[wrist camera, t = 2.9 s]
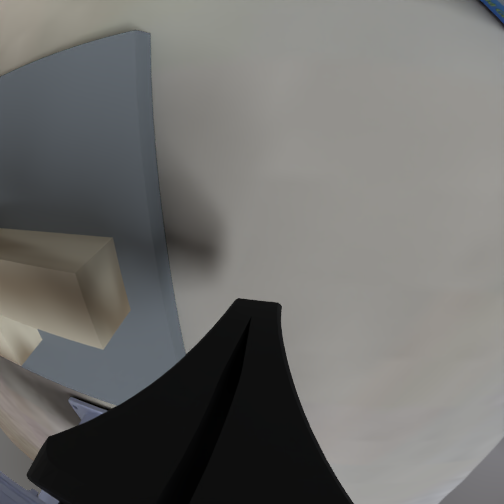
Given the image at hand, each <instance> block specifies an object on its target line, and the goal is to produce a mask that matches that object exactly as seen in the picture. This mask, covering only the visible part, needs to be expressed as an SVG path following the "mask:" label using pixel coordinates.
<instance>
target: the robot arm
mask: <svg viewBox="0 0 504 504" xmlns="http://www.w3.org/2000/svg"><path fill="white" fill-rule="evenodd" d="M281 309H282V306H281V305H280V304H279V303H276V302H266V301H257V300H248V299H240V298H238V299H236V300H235V301H234V302H233V304H232V305H231V306H230V307H229V309H228V310H227V311H226V312H225V314H224V315H223V316H222V317H221V318H220V320H219V321H218V322H217V323H216V324H215V325H214V327H213V328H212V329H211V330H210V331H209V332H208V333H207V334H206V335H205V336H204V337H203V338H202V339H201V340H200V342H199V343H198V344H197V345H196V346H195V347H194V348H192V349H191V350H190V351H189V352H188V353H187V354H186V355H185V356H184V357H183V358H182V359H181V360H180V361H179V362H178V363H176V364H175V365H174V366H173V367H172V368H171V369H169V370H168V371H167V372H166V373H164V374H163V375H162V376H161V377H159V378H158V379H157V380H155V381H154V382H153V383H152V384H150V385H149V386H147V387H146V388H144V389H143V390H141V391H140V392H139V393H137V394H136V395H134V396H133V397H131V398H129V399H128V400H126V401H125V402H123V403H121V404H120V405H118V406H116V407H114V408H112V409H110V410H109V411H107V410H104V409H102V408H99V407H96V406H94V405H91V404H88V403H86V402H83V401H81V400H78V399H76V398H73V397H70V398H69V400H68V401H69V403H70V404H71V406H72V407H73V409H74V410H75V412H76V413H77V414H78V416H79V417H80V419H81V422H80V423H79V425H78V426H75V427H73V428H70V429H68V430H65V431H63V432H60V433H58V434H55V435H52V436H49V437H48V438H47V440H46V441H45V443H44V444H43V446H42V447H41V449H40V451H39V453H38V454H37V456H36V458H35V460H34V462H33V463H32V466H31V467H30V469H29V471H28V473H27V477H28V479H29V480H30V481H31V482H33V483H34V484H35V485H36V486H38V487H39V488H41V489H42V490H41V492H40V494H39V496H38V492H37V491H36V490H34V489H31V490H26V489H24V488H23V487H21V486H20V485H18V484H17V483H16V482H14V481H13V480H12V479H10V478H9V477H7V476H6V475H5V474H4V473H2V472H1V471H0V504H354V503H353V502H352V500H351V499H350V497H349V496H348V494H347V493H346V491H345V490H344V488H343V487H342V485H341V484H340V482H339V480H338V479H337V477H336V475H335V474H334V472H333V470H332V468H331V467H330V465H329V463H328V461H327V460H326V458H325V456H324V454H323V452H322V450H321V448H320V446H319V444H318V442H317V440H316V438H315V436H314V434H313V432H312V429H311V427H310V425H309V423H308V420H307V418H306V415H305V413H304V411H303V408H302V405H301V403H300V400H299V397H298V395H297V392H296V389H295V386H294V382H293V379H292V376H291V372H290V369H289V365H288V361H287V357H286V352H285V347H284V343H283V337H282V329H281Z"/></svg>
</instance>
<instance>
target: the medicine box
mask: <svg viewBox="0 0 504 504" xmlns="http://www.w3.org/2000/svg"><path fill="white" fill-rule="evenodd" d="M480 1H481V2H483V3H484V4H485V5H486V6H487V7H488V8H489V9H490V10H491V11H492V12H493V13H494V14H495V15H496V16H497V17H498V18H499V19H500V20H501V22H502V23H503V24H504V0H480Z"/></svg>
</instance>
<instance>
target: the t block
mask: <svg viewBox="0 0 504 504" xmlns="http://www.w3.org/2000/svg"><path fill="white" fill-rule="evenodd" d="M130 310H131V309H130V305H129V302H128V298H127V294H126V291H125V287H124V283H123V279H122V275H121V271H120V267H119V263H118V258H117V254H116V250H115V245H114V240H113V238H112V237H100V236H88V235H77V234H65V233H53V232H41V231H29V230H17V229H5V228H0V356H2V357H4V358H6V359H8V360H10V361H12V362H14V363H16V364H18V365H20V366H22V365H23V363H24V362H25V361H26V360H27V358H28V357H29V356H30V355H31V353H32V352H33V351H34V350H35V348H36V347H37V346H38V345H39V343H40V342H41V341H42V338H41V336H40V334H39V332H38V330H37V329H39V330H42V331H45V332H48V333H51V334H54V335H57V336H60V337H63V338H66V339H69V340H72V341H75V342H79V343H82V344H85V345H89V346H92V347H95V348H99V349H102V350H104V348H105V347H106V345H107V344H108V342H109V341H110V339H111V338H112V336H113V335H114V333H115V332H116V330H117V329H118V328H119V326H120V325H121V323H122V322H123V320H124V319H125V317H126V316H127V315H128V313H129V312H130Z"/></svg>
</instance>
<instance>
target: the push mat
mask: <svg viewBox="0 0 504 504" xmlns="http://www.w3.org/2000/svg"><path fill="white" fill-rule="evenodd" d="M0 228H5V229H17V230H29V231H41V232H53V233H65V234H77V235H88V236H100V237H112V238H113V240H114V245H115V250H116V254H117V258H118V263H119V267H120V271H121V275H122V279H123V283H124V287H125V291H126V294H127V298H128V302H129V305H130V309H131V310H130V312H129V313H128V315H127V316H126V317H125V319H124V320H123V322H122V323H121V325H120V326H119V328H118V329H117V330H116V332H115V333H114V335H113V336H112V338H111V339H110V341H109V342H108V344H107V345H106V347H105V348H104V350H102V349H99V348H95V347H92V346H89V345H85V344H82V343H79V342H75V341H72V340H69V339H66V338H63V337H60V336H57V335H54V334H51V333H48V332H45V331H42V330H39V329H37V330H38V332H39V334H40V336H41V338H42V341H41V342H40V343H39V345H38V346H37V347H36V348H35V350H34V351H33V352H32V353H31V355H30V356H29V357H28V358H27V360H26V361H25V362H24V363H23V365H22V366H21V367H23V368H25V369H27V370H29V371H31V372H33V373H36V374H38V375H40V376H42V377H44V378H47V379H49V380H51V381H53V382H56V383H58V384H61V385H63V386H65V387H68V388H70V389H73V390H75V391H78V392H80V393H83V394H86V395H88V396H91V397H94V398H97V399H99V400H102V401H105V402H108V403H111V404H114V405H117V406H118V405H120V404H121V403H123V402H125V401H126V400H128V399H129V398H131V397H133V396H134V395H136V394H137V393H139V392H140V391H141V390H143V389H144V388H146V387H147V386H149V385H150V384H152V383H153V382H154V381H155V380H157V379H158V378H159V377H161V376H162V375H163V374H164V373H166V372H167V371H168V370H169V369H171V368H172V367H173V366H174V365H175V364H176V363H178V362H179V361H180V360H181V359H182V358H183V357H184V356H185V355H186V354H185V349H184V344H183V339H182V334H181V329H180V324H179V319H178V313H177V308H176V302H175V296H174V291H173V285H172V278H171V272H170V266H169V259H168V253H167V246H166V239H165V231H164V224H163V216H162V208H161V199H160V190H159V181H158V171H157V160H156V149H155V136H154V122H153V105H152V84H151V49H150V33H147V32H142V31H137V30H134V31H130V32H125V33H121V34H117V35H113V36H109V37H106V38H102V39H98V40H95V41H91V42H88V43H85V44H82V45H78V46H75V47H72V48H69V49H66V50H63V51H61V52H58V53H55V54H52V55H50V56H47V57H44V58H42V59H39V60H37V61H34V62H32V63H29V64H27V65H25V66H22V67H20V68H18V69H16V70H13V71H11V72H9V73H7V74H5V75H3V76H1V77H0ZM1 357H2V356H1ZM3 358H4V357H3ZM5 359H6V358H5ZM7 360H8V359H7ZM9 361H10V360H9ZM11 362H12V361H11ZM13 363H14V362H13ZM15 364H16V363H15ZM17 365H18V364H17ZM19 366H20V365H19Z"/></svg>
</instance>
